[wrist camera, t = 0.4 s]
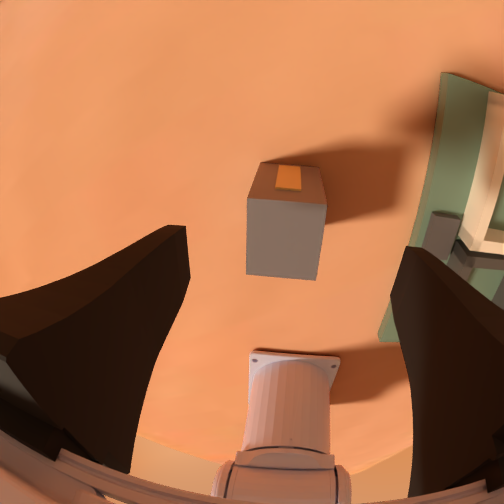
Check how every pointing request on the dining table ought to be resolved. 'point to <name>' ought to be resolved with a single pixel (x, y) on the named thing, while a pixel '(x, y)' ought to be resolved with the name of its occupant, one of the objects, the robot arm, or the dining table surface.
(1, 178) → the dining table surface
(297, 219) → the plug
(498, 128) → the board
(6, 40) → the dining table surface
